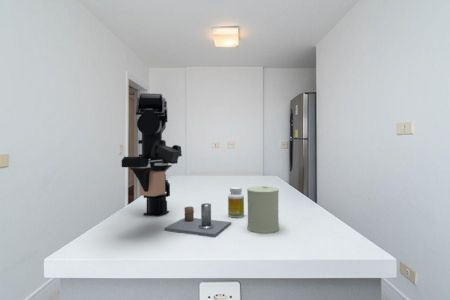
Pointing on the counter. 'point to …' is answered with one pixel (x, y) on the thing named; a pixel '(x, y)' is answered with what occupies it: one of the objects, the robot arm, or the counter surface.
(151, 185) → the terracotta colored cuboid
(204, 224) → the marker post
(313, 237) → the counter surface
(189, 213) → the walnut post
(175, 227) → the board
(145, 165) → the robot arm
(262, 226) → the can
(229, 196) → the supplement bottle
